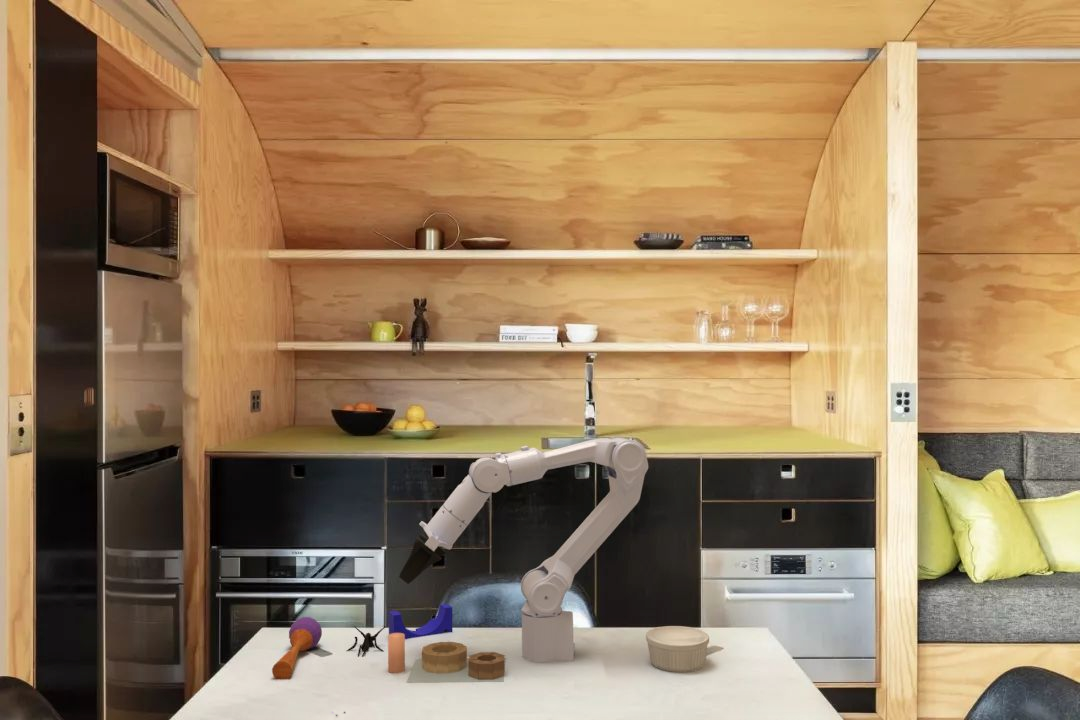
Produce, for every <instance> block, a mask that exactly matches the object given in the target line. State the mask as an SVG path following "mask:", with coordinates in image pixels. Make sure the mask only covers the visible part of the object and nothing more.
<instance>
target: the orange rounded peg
mask: <svg viewBox="0 0 1080 720" xmlns="http://www.w3.org/2000/svg"><path fill="white" fill-rule="evenodd" d="M405 640H406V639H405V634H403V633H392V634H389V633H388V636H387V643H388V645H387V651H388V656H387V658H388V659H387V661H388V662H387V664H388V665H387V668H388V669H387V672H388V673H390V674H401V673H402V674H403V673H404V672H405V671H406V649H405V648H406V644H405V642H406V641H405Z"/></svg>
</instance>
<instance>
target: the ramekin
mask: <svg viewBox="0 0 1080 720" xmlns="http://www.w3.org/2000/svg"><path fill="white" fill-rule="evenodd" d="M645 634H646V635H645V640H646V643H647V648H648V655H649V660H650V663H652V665H653V666H654V667H655V668H657V669H659V670H661V671H665V670H666V672H670V671H671V672H672V673H691V672H695V671H699V670H700V669H702V668H703V667H704V665H705V663H706V657H707V653H708V645H709V643H710V636H709V635H708V633H707V632H705V631H703V630H701V629H699V628H695V627H691V626H684V625H683V626H681V625H665V626H657V627H653V628H651V629H649V630H648V631H647V632H646V633H645ZM671 672H670V673H671Z"/></svg>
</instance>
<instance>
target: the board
mask: <svg viewBox="0 0 1080 720" xmlns="http://www.w3.org/2000/svg"><path fill="white" fill-rule="evenodd" d="M468 660H469V657H467V666H466V668H465V669H463V670H461V671H458V672H453V673H438V674H436V673H431V672H426V671H425V670H424V669H422V658H415V660H414V662H413V664H412V668H411V670H410V672H409V675H408V677H407V680H406V684H414V683H415V684H419V683H421V684H422V683H425V684H427V683H428V684H429V683H432V684H433V683H434V684H435V683H504V681H505V675H504V676H502V677H499V678H496V679H493V680H479V679H475V678H472V677H469V676H468ZM505 662H506V657H505ZM504 674H505V672H504Z"/></svg>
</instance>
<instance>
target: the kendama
mask: <svg viewBox="0 0 1080 720" xmlns="http://www.w3.org/2000/svg"><path fill="white" fill-rule="evenodd" d="M322 630H323V629H322V627H321V625H320V623H319V622H318V621H317V620H316V619H315V618H313V617H310V616H309V617H308V616H303V617H300V618H297V619H296V620H295V621H294V622H293V623H292V624H291V626H290V628H289V631H288V639H289V643H290V645H291V648H290V649H289V650H288V651H287V652H286V653H285V654H284V655H283V656H282V657H281V658H280V659H279V660H278V661H277V662H276V663H275V664H274V665H273V667H272V669H271V672H272V675H273V677H274V678H275V679H276V680H288V679H289V678H290V677H291V676H292V673H293V670H294V667H295V664H296V661H297V658H298V655H299V652H304V651H307V649H308V650H311V649H313V647H314V648H315V647H316V646H317V645H318V644H319V642H320V640H321V638H322V635H323V634H322V633H323V631H322ZM310 648H311V649H310Z"/></svg>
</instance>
